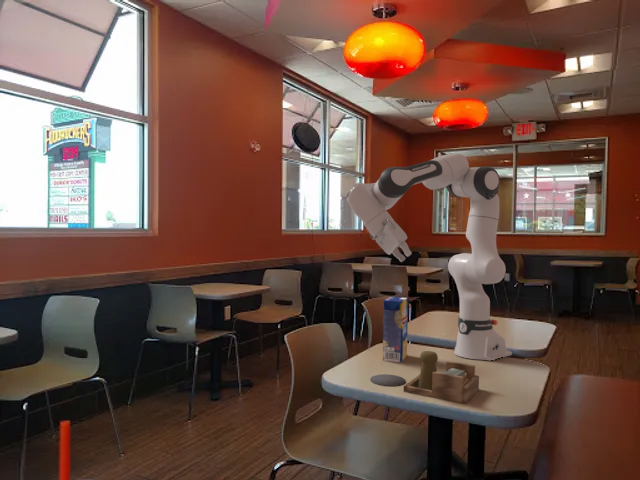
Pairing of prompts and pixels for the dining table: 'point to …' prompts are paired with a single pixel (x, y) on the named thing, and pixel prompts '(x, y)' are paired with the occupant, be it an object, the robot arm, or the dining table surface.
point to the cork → (427, 369)
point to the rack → (449, 383)
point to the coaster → (387, 380)
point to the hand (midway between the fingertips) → (406, 258)
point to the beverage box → (395, 329)
